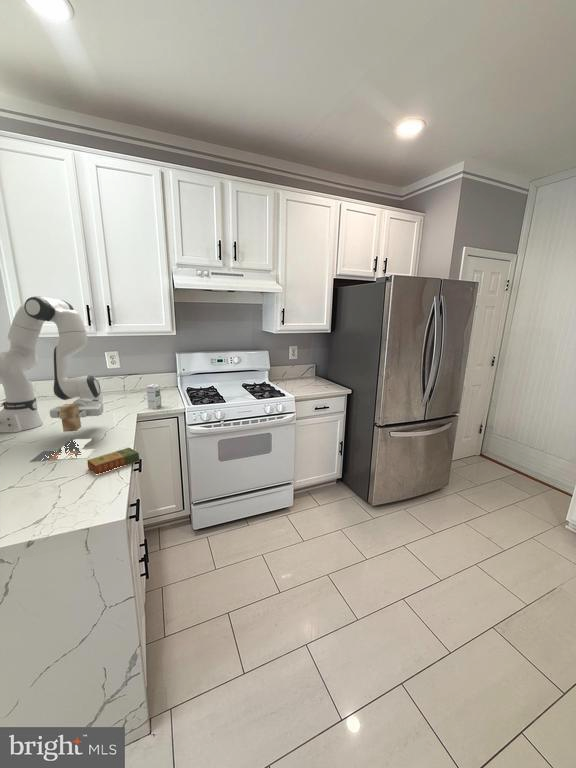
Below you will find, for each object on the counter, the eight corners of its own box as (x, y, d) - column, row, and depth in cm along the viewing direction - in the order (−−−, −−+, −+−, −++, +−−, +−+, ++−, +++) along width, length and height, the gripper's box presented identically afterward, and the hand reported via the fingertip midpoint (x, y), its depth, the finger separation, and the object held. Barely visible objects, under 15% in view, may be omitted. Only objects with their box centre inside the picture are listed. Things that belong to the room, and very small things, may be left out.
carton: (88, 469, 121) (86, 459, 120) (130, 455, 133) (129, 446, 132) (96, 476, 115) (95, 465, 115) (140, 461, 128) (139, 451, 127)
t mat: (29, 462, 125) (29, 461, 125) (57, 439, 147) (57, 439, 147) (87, 458, 129) (87, 457, 129) (107, 437, 151) (107, 436, 151)
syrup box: (156, 409, 195) (154, 386, 192) (147, 408, 196) (145, 385, 193) (161, 406, 200) (160, 384, 197) (153, 406, 202) (151, 383, 198)
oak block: (63, 431, 136) (59, 407, 133) (68, 427, 140) (65, 403, 138) (76, 431, 137) (72, 406, 134) (81, 427, 141) (78, 403, 139)
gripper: (57, 401, 147) (41, 410, 133) (105, 400, 151) (94, 408, 138) (59, 414, 148) (43, 424, 135) (106, 412, 152) (96, 422, 139)
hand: (69, 416), depth 136 cm, fingers closed on oak block, 5 cm apart
